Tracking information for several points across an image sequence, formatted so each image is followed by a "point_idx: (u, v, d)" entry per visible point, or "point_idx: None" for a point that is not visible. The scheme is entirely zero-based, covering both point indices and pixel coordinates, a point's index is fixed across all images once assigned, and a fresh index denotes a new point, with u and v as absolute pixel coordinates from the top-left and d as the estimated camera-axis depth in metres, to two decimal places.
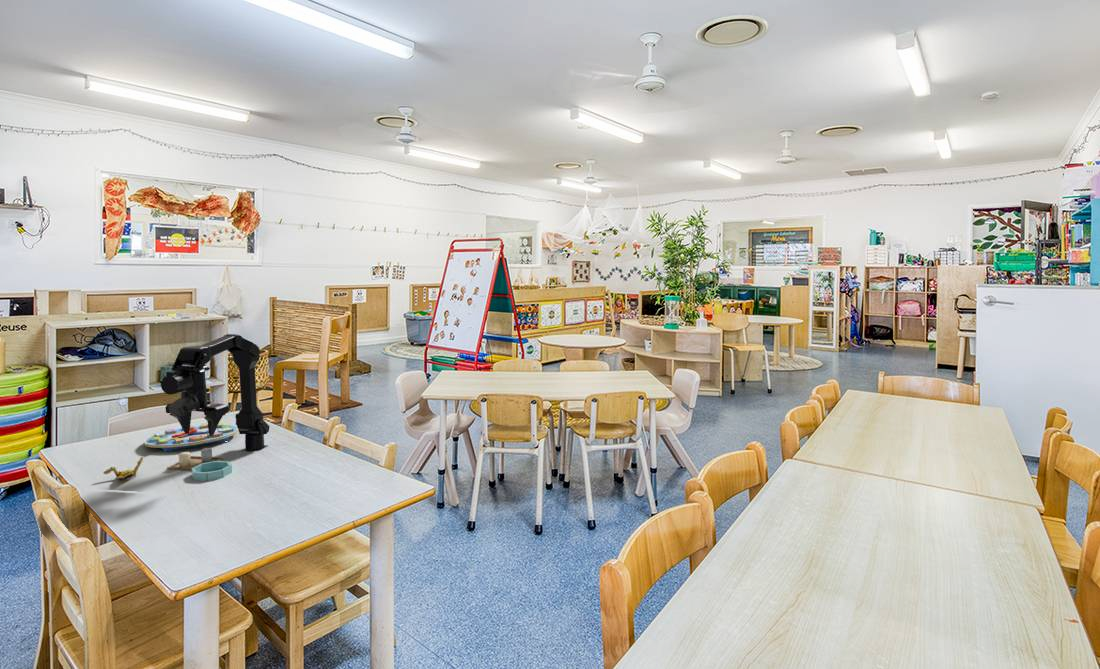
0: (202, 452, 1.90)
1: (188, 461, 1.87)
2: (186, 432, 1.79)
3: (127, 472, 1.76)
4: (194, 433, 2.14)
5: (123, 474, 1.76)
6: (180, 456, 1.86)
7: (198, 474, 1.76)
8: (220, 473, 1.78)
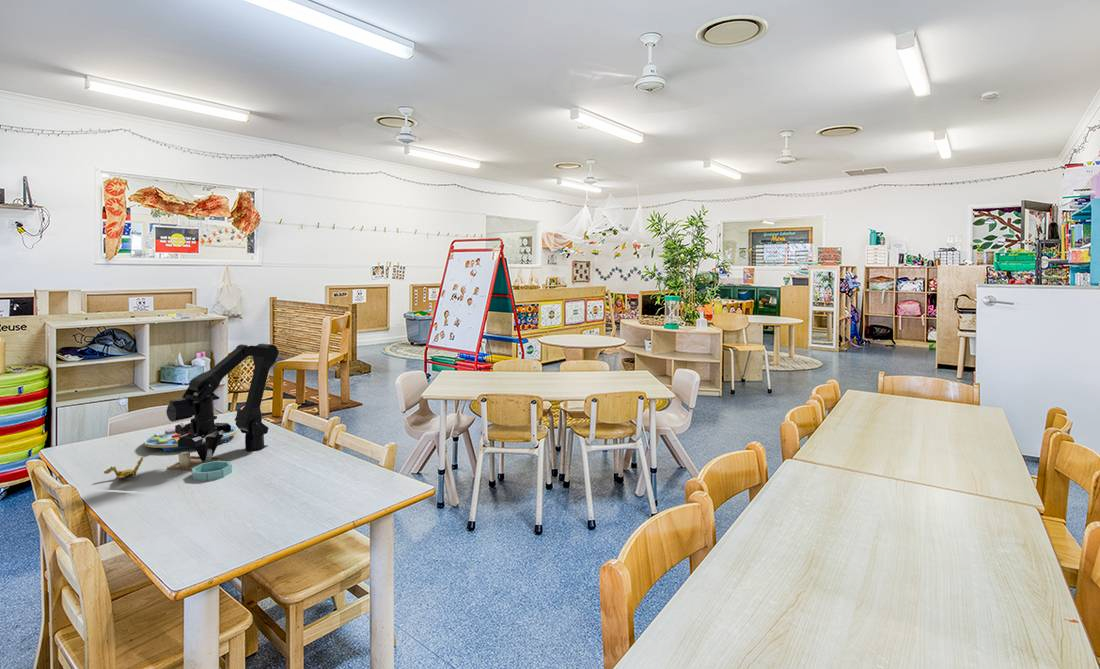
0: None
1: (188, 461, 1.87)
2: None
3: (127, 472, 1.77)
4: None
5: (123, 474, 1.76)
6: (180, 456, 1.86)
7: (198, 474, 1.76)
8: (220, 473, 1.78)
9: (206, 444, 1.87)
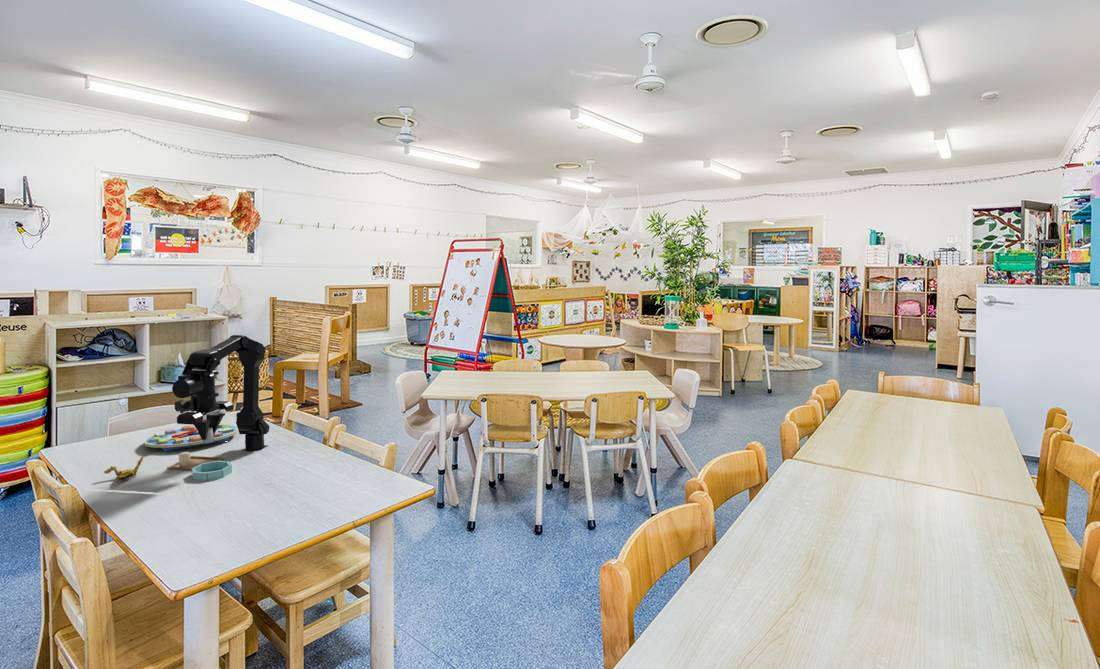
0: None
1: (188, 461, 1.87)
2: None
3: (127, 471, 1.77)
4: (194, 433, 2.14)
5: (123, 473, 1.76)
6: (180, 456, 1.86)
7: (198, 474, 1.76)
8: (220, 473, 1.78)
9: (207, 422, 1.77)
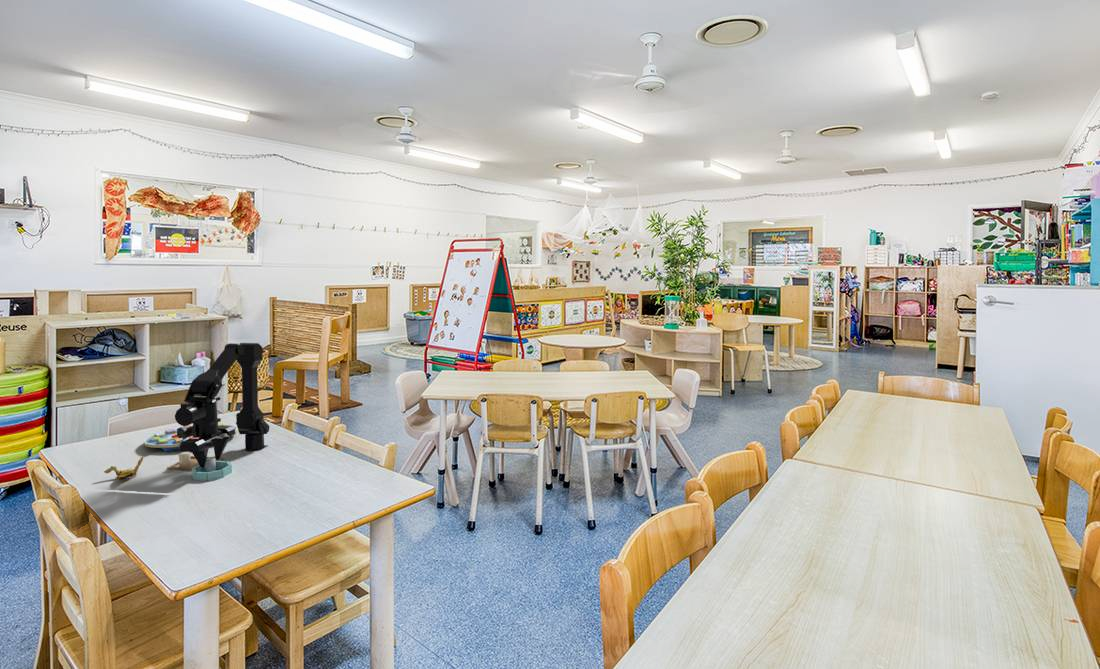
0: None
1: (188, 461, 1.87)
2: (216, 458, 1.86)
3: (128, 471, 1.77)
4: None
5: (124, 473, 1.77)
6: (180, 456, 1.86)
7: (198, 474, 1.76)
8: (220, 473, 1.78)
9: (205, 450, 1.76)
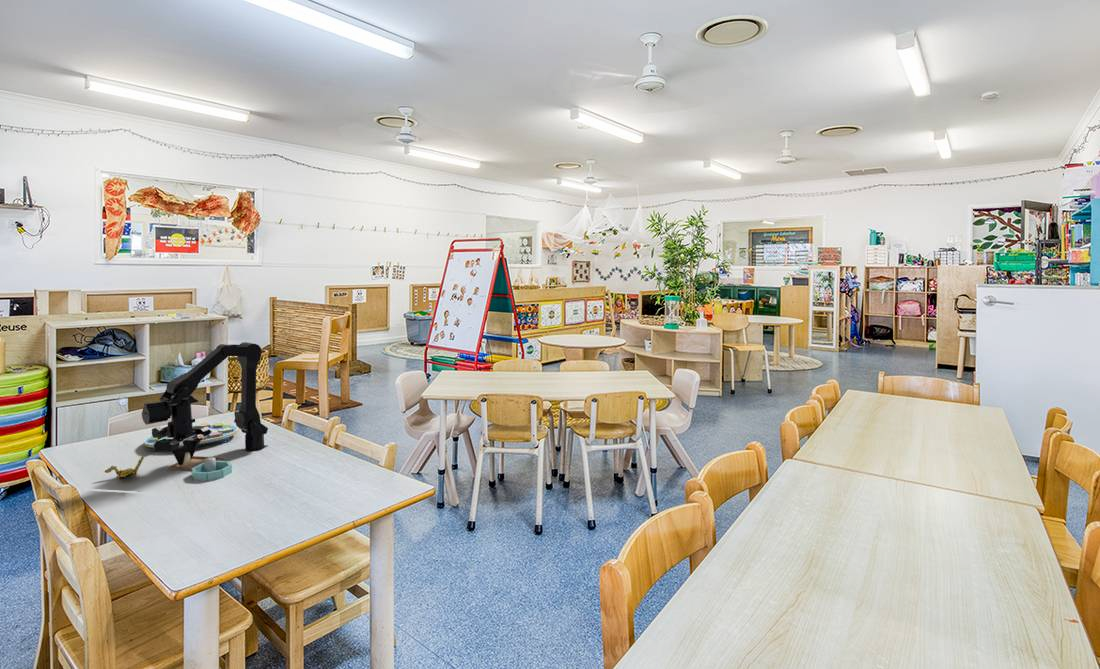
0: (205, 462, 1.81)
1: (188, 461, 1.87)
2: None
3: (128, 471, 1.77)
4: None
5: (124, 473, 1.77)
6: None
7: (198, 474, 1.76)
8: (220, 473, 1.78)
9: (183, 448, 1.83)
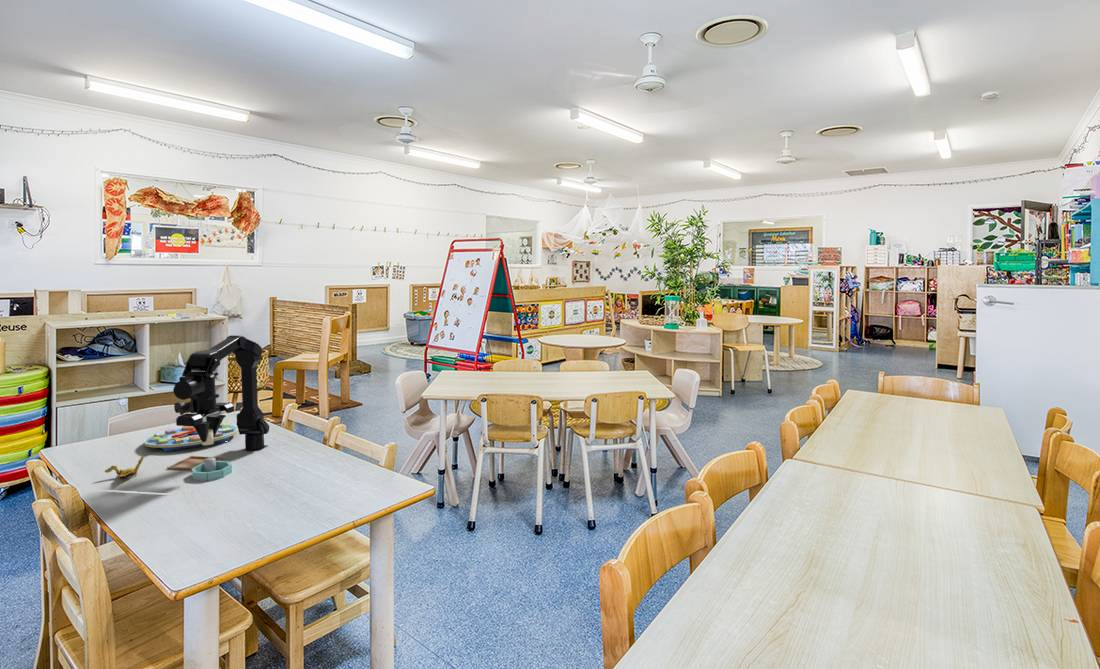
0: (205, 462, 1.81)
1: (211, 438, 1.79)
2: None
3: (128, 470, 1.78)
4: (194, 433, 2.14)
5: (124, 472, 1.77)
6: None
7: (198, 474, 1.76)
8: (220, 473, 1.78)
9: (207, 424, 1.75)
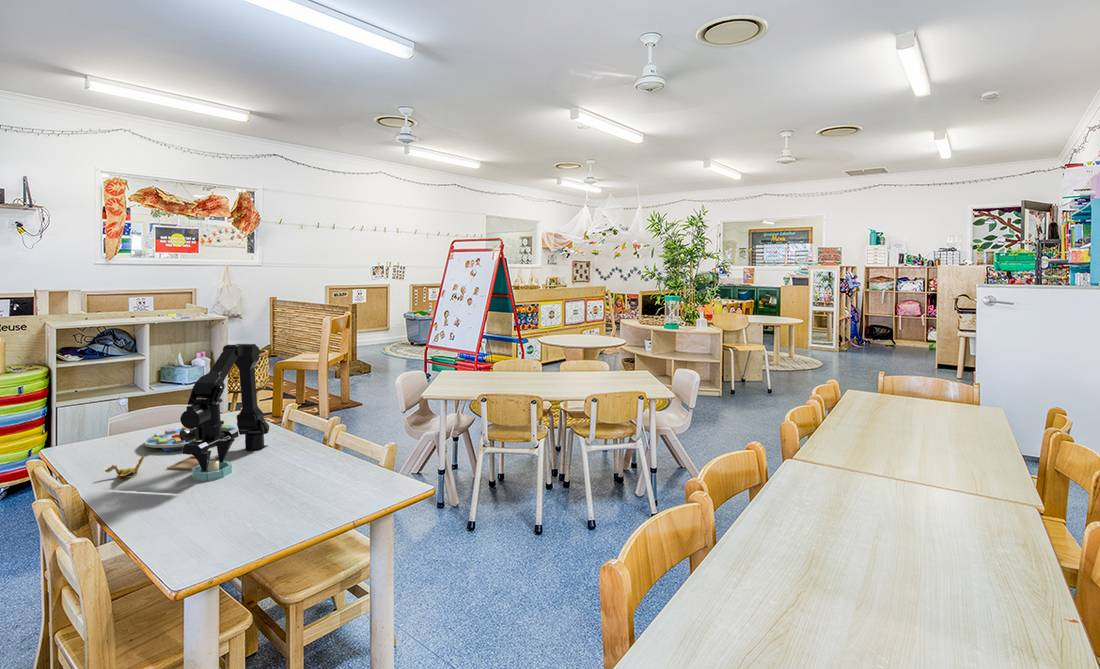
0: None
1: None
2: (219, 461, 1.84)
3: (128, 470, 1.78)
4: None
5: (124, 472, 1.77)
6: (209, 464, 1.78)
7: (198, 474, 1.76)
8: (220, 473, 1.78)
9: (208, 453, 1.73)
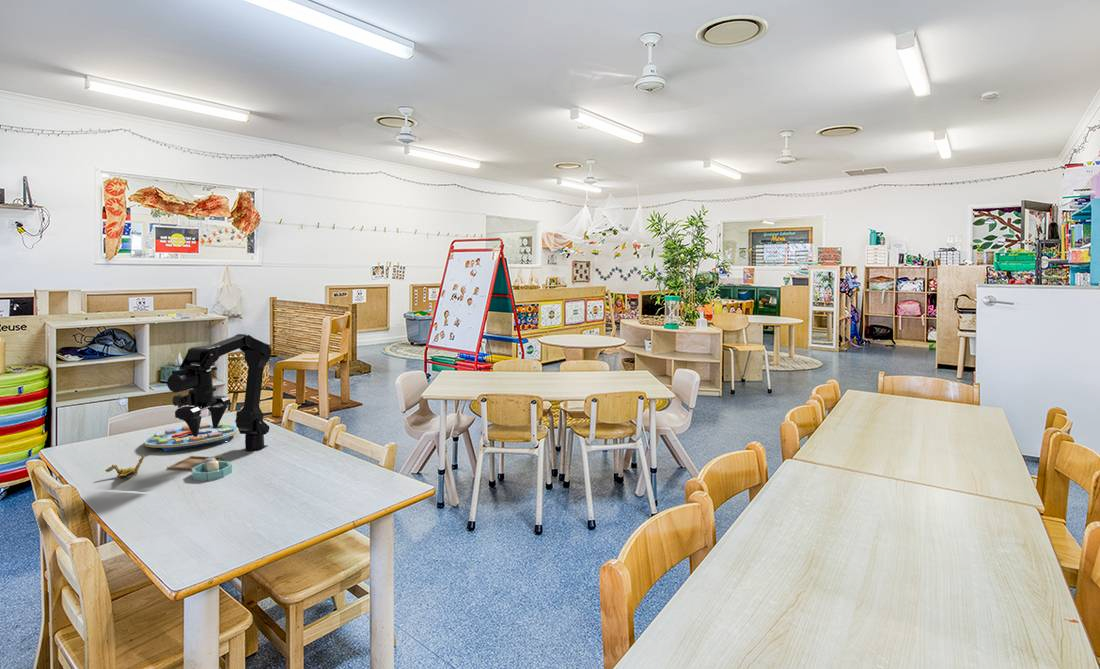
0: (205, 462, 1.81)
1: None
2: (213, 426, 1.89)
3: (129, 470, 1.78)
4: None
5: (125, 472, 1.78)
6: (208, 465, 1.78)
7: (198, 474, 1.76)
8: (220, 473, 1.78)
9: (198, 418, 1.78)
